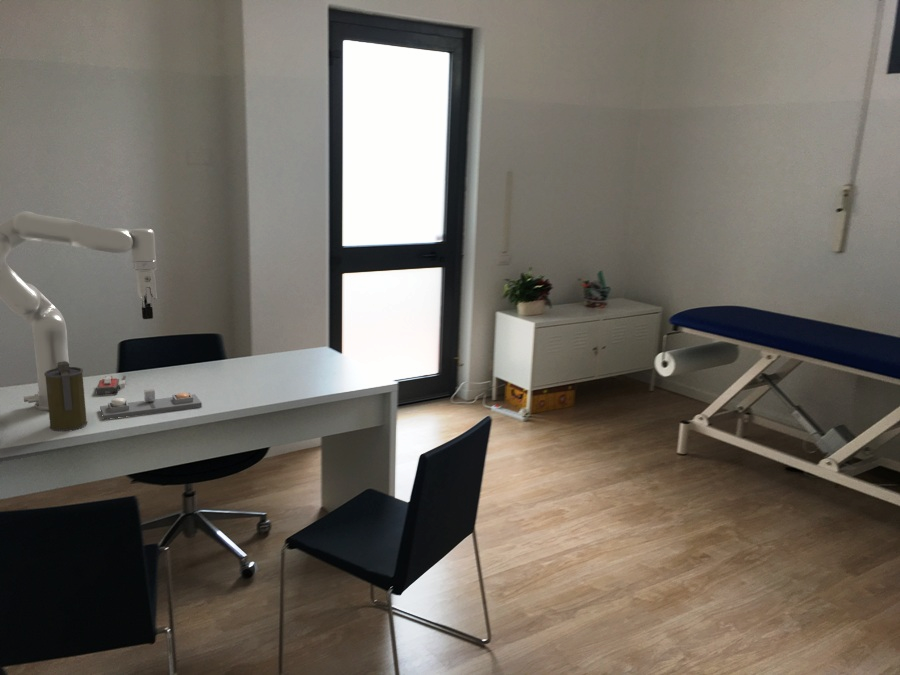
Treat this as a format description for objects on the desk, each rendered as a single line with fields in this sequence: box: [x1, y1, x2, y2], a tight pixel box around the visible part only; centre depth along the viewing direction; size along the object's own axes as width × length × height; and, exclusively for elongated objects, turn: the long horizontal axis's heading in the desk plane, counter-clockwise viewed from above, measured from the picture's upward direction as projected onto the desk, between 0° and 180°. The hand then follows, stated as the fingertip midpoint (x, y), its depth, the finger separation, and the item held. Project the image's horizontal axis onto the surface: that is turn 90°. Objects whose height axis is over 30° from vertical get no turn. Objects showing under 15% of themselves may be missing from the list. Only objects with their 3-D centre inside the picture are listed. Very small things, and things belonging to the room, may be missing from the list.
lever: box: [143, 388, 156, 402], centre depth 246 cm, size 2×3×4 cm, turn 121°
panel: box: [99, 392, 203, 420], centre depth 244 cm, size 30×10×3 cm, turn 121°
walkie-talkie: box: [96, 375, 127, 396], centre depth 265 cm, size 9×4×20 cm
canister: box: [44, 361, 88, 432], centre depth 224 cm, size 11×10×20 cm
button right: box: [175, 392, 189, 399], centre depth 248 cm, size 4×4×2 cm
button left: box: [110, 397, 126, 407], centre depth 238 cm, size 4×4×2 cm
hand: (147, 318), depth 253 cm, fingers closed
